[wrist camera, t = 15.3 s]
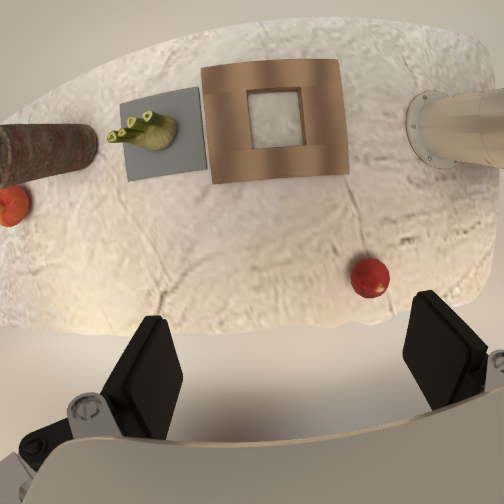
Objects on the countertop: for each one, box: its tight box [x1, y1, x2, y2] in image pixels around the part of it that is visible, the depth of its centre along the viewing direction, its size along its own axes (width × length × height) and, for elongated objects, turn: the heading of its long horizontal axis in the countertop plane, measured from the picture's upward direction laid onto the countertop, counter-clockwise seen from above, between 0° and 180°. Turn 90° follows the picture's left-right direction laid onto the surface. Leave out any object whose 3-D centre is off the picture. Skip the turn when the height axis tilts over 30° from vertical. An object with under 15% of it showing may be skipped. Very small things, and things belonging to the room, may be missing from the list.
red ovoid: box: [351, 258, 390, 298], centre depth 40 cm, size 6×6×8 cm
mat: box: [120, 87, 207, 182], centre depth 37 cm, size 12×12×1 cm
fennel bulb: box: [107, 111, 177, 151], centre depth 32 cm, size 6×5×12 cm
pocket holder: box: [201, 59, 349, 184], centre depth 36 cm, size 18×16×3 cm
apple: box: [0, 185, 29, 227], centre depth 37 cm, size 7×7×8 cm
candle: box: [0, 124, 96, 189], centre depth 29 cm, size 8×7×20 cm
